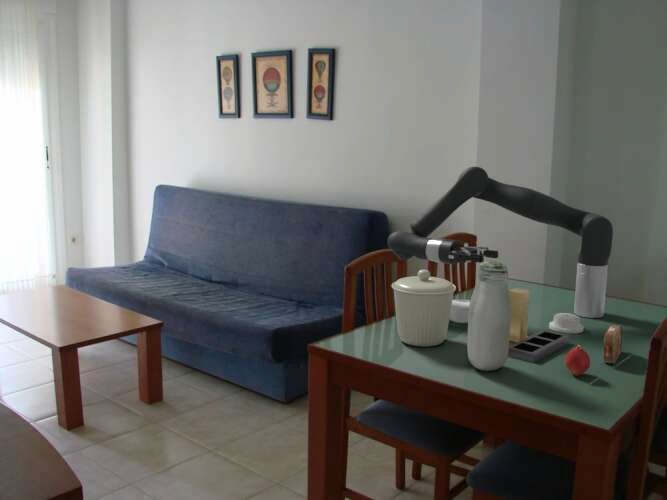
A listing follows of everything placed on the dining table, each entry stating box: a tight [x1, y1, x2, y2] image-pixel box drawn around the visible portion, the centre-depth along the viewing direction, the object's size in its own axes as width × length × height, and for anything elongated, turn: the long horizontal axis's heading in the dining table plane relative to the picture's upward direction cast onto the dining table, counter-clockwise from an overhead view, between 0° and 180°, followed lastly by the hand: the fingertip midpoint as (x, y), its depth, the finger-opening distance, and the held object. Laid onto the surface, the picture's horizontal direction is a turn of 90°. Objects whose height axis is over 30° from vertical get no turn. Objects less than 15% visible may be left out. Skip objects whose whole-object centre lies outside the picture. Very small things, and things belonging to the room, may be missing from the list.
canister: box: [391, 269, 457, 348], centre depth 182 cm, size 18×18×21 cm
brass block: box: [508, 287, 531, 341], centre depth 186 cm, size 4×4×14 cm
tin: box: [603, 324, 623, 365], centre depth 170 cm, size 15×3×8 cm, turn 148°
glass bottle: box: [467, 260, 511, 372], centre depth 160 cm, size 10×10×28 cm
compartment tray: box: [507, 329, 570, 364], centre depth 177 cm, size 22×8×2 cm, turn 137°
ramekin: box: [449, 299, 471, 324], centre depth 206 cm, size 11×11×5 cm
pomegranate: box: [564, 344, 591, 377], centre depth 158 cm, size 6×6×8 cm
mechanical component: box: [548, 312, 585, 334], centre depth 196 cm, size 10×4×10 cm
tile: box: [509, 335, 530, 343], centre depth 187 cm, size 7×7×1 cm
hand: (490, 256), depth 189 cm, fingers open, 8 cm apart
